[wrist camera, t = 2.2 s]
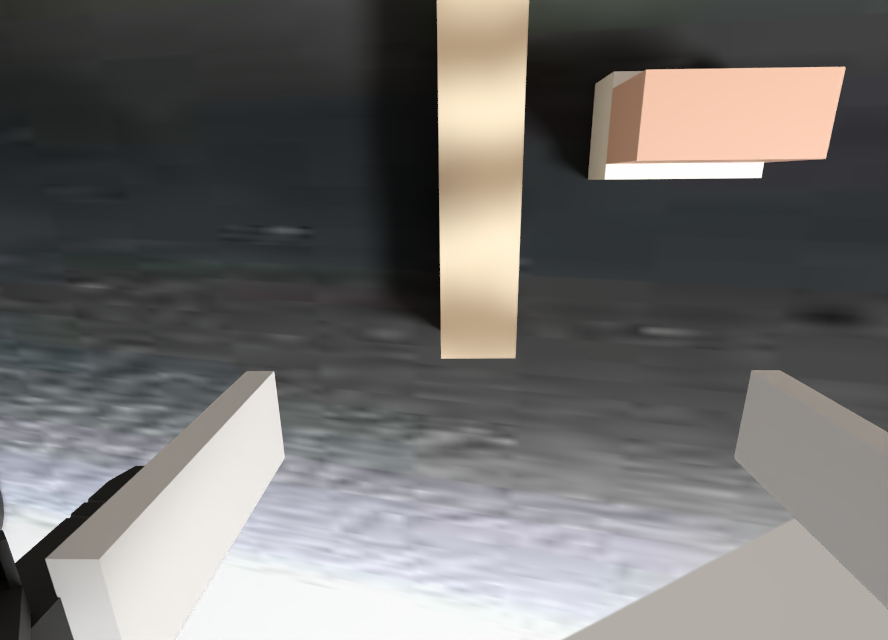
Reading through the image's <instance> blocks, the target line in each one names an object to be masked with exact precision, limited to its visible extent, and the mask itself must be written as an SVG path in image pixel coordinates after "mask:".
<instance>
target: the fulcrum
mask: <svg viewBox="0 0 888 640" xmlns="http://www.w3.org/2000/svg"><path fill="white" fill-rule="evenodd" d="M845 68H846V67H802V68H727V69H652V70H645V71H614V72H613V73H611V74H610V75H608V76H607V77H605V78H604V79H602V80H600V81H599V82H597V83H596V84H595V94H594V107H593V120H592V133H591V146H590V159H589V172H588V180H599V179H697V178H761V177H762V171H763V166H764V162H779V161H796V160H814V159H826V155H827V151H828V146H829V141H830V137H831V132H832V128H833V123H834V119H835V114H836V109H837V105H838V100H839V96H840V91H841V86H842V82H843V77H844V73H845Z"/></svg>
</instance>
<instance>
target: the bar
mask: <svg viewBox="0 0 888 640" xmlns="http://www.w3.org/2000/svg"><path fill="white" fill-rule="evenodd" d="M528 12H529V0H437V52H438V135H439V217H440V300H441V358H515V356H516V329H517V303H518V276H519V250H520V223H521V197H522V171H523V144H524V118H525V91H526V65H527V39H528Z"/></svg>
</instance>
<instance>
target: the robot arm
mask: <svg viewBox="0 0 888 640" xmlns="http://www.w3.org/2000/svg"><path fill="white" fill-rule="evenodd" d="M284 458H285V455H284V447H283V439H282V431H281V423H280V415H279V407H278V399H277V391H276V383H275V375H274V371H246V372H245V373H244V374H243V375H242V376H241V377H240V378H239V379H238V380H237V381H236V382H235V383H234V384H232V385H231V386H230V387H229V388H228V389H227V390H226V391H225V392H224V393H223V394H222V395H221V396H220V397H218V398H217V399H216V400H215V401H214V402H213V403H212V404H211V405H210V406H209V407H208V408H207V409H206V410H205V411H203V412H202V413H201V414H200V415H199V416H198V417H197V418H196V419H195V420H194V421H193V422H192V423H191V424H189V425H188V426H187V427H186V428H185V429H184V430H183V431H182V432H181V433H180V434H179V435H178V436H177V437H176V438H174V439H173V440H172V441H171V442H170V443H169V444H168V445H167V446H166V447H165V448H164V449H163V450H162V451H161V452H159V453H158V454H157V455H156V456H155V457H154V458H153V459H152V460H151V461H150V462H149V463H148V464H147V465H145V466H135V467H133V468H131V469H129V470H128V471H126V472H124V473H122V474H120V475H119V476H117V477H115V478H113V479H112V480H110V481H108V482H107V483H106V484H105V485H104V486H103V487H101V488H100V489H99V490H98V491H97V492H96V493H95V494H93V495H92V496H91V497H90V498H89V499H88V502H87V503H83V504H82V505H81V506H80V507H79V508H78V509H76V510H75V511H74V512H73V513H72V514H71V517H70V518H66V519H65V520H64V521H63V522H62V523H60V524H59V525H58V526H57V527H56V528H55V529H54V530H52V531H51V532H50V533H49V534H48V535H47V536H46V537H44V538H43V539H42V540H41V541H40V542H39V543H38V544H36V545H35V546H34V547H33V548H32V549H31V550H30V551H28V552H27V553H26V554H25V555H24V556H23V557H22V558H21V559H19V560H18V561H17V562H16V563H14V560H13V557H12V554H11V551H10V548H9V545H8V542H7V540H6V537H5V535H4V532H3V531H2V530H1V529H2V525H3V518H4V508H3V500H2V496H1V492H0V640H175V639H176V638H177V636H178V634H179V633H180V631H181V629H182V628H183V626H184V624H185V623H186V621H187V619H188V618H189V616H190V614H191V613H192V611H193V609H194V608H195V606H196V604H197V603H198V601H199V600H200V598H201V596H202V595H203V593H204V591H205V590H206V588H207V586H208V585H209V583H210V581H211V580H212V578H213V576H214V575H215V573H216V571H217V570H218V568H219V566H220V565H221V563H222V561H223V560H224V558H225V556H226V555H227V553H228V551H229V550H230V548H231V546H232V545H233V543H234V541H235V540H236V538H237V536H238V535H239V533H240V531H241V530H242V528H243V526H244V525H245V523H246V521H247V520H248V518H249V516H250V515H251V513H252V511H253V510H254V508H255V506H256V505H257V503H258V501H259V500H260V498H261V496H262V495H263V493H264V491H265V490H266V488H267V486H268V485H269V483H270V481H271V480H272V478H273V476H274V475H275V473H276V471H277V470H278V468H279V466H280V465H281V463H282V461H283V460H284ZM734 459H735V460H736V461H737V462H738V463H739V464H740V465H741V466H742V467H743V468H744V469H746V470H747V471H748V472H749V473H750V474H751V475H752V476H753V477H754V478H755V479H756V480H757V481H758V482H759V483H760V484H761V485H762V486H763V487H764V488H765V489H766V490H767V491H768V492H769V493H770V494H771V495H772V496H773V497H774V498H775V499H776V500H777V501H778V502H779V503H780V504H781V505H782V506H783V507H784V508H785V509H786V510H787V511H788V512H789V513H790V514H791V515H792V516H793V517H794V518H795V519H796V520H798V521H799V522H800V523H801V524H802V525H803V526H804V527H805V528H806V529H807V530H808V531H809V532H810V533H811V534H812V535H813V536H814V537H815V538H816V539H817V540H818V541H819V542H820V543H821V544H822V545H823V546H824V547H825V548H826V549H827V550H828V551H829V552H830V553H831V554H832V555H833V556H834V557H836V559H837V560H838V561H839V562H840V563H841V564H842V565H843V566H844V567H845V568H846V569H847V570H848V571H849V572H851V573H852V574H853V575H854V576H855V577H856V578H857V579H858V580H859V581H860V582H861V583H862V584H863V585H864V586H865V587H866V588H867V589H868V590H869V591H870V592H871V593H872V594H873V595H874V596H875V597H876V598H877V599H878V600H879V601H880V602H881V603H882V604H883V605H884V606H885V607H886V608H887V609H888V432H886V431H884V430H883V429H881V428H879V427H877V426H876V425H874V424H872V423H870V422H869V421H867V420H865V419H864V418H862V417H860V416H858V415H857V414H855V413H853V412H851V411H850V410H848V409H846V408H844V407H843V406H841V405H839V404H838V403H836V402H834V401H832V400H831V399H829V398H827V397H825V396H824V395H822V394H820V393H818V392H817V391H815V390H813V389H812V388H810V387H808V386H806V385H805V384H803V383H801V382H799V381H798V380H796V379H794V378H792V377H791V376H789V375H787V374H785V373H784V372H782V371H780V370H752V371H751V376H750V381H749V386H748V391H747V396H746V401H745V406H744V411H743V416H742V421H741V426H740V431H739V436H738V441H737V446H736V451H735V456H734Z"/></svg>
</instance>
